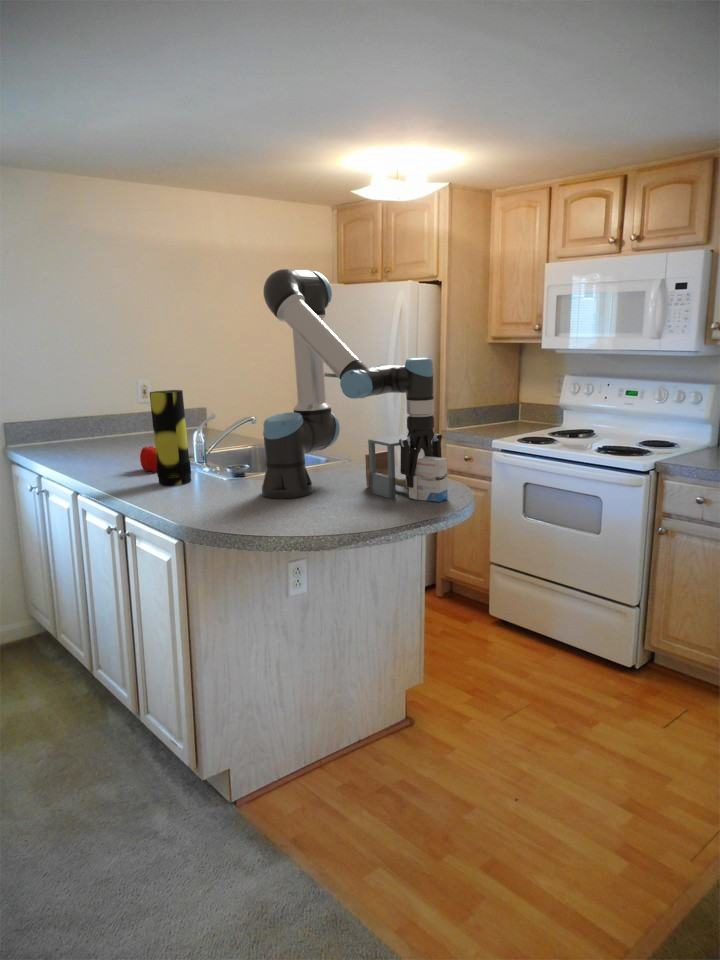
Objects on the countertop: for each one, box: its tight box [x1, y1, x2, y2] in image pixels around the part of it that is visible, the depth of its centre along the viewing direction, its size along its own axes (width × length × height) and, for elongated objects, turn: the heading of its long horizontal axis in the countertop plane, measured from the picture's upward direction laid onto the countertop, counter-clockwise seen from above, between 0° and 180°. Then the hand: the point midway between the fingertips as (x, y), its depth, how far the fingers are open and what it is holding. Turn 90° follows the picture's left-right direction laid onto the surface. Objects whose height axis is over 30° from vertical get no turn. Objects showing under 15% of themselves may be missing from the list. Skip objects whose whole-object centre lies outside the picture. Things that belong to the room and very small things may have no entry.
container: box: [149, 389, 192, 487], centre depth 229 cm, size 11×11×30 cm
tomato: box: [139, 446, 157, 473], centre depth 252 cm, size 11×12×9 cm
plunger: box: [364, 449, 409, 489], centre depth 208 cm, size 20×9×10 cm, turn 34°
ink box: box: [414, 455, 449, 503], centre depth 196 cm, size 8×5×12 cm, turn 53°
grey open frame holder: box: [367, 432, 425, 500], centre depth 206 cm, size 11×14×16 cm
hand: (422, 496), depth 199 cm, fingers closed on ink box, 6 cm apart
